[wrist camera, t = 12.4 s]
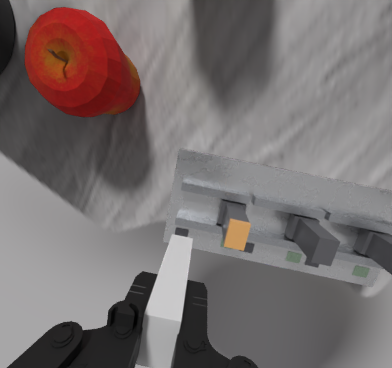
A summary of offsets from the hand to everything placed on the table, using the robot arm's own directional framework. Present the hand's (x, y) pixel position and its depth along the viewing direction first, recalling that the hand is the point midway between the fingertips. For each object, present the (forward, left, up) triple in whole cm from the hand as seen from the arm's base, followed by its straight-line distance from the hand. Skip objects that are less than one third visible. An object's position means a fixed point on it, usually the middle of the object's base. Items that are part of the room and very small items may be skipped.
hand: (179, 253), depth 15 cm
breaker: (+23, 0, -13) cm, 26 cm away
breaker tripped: (+5, 0, -13) cm, 14 cm away
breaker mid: (+14, -1, -13) cm, 19 cm away
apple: (-13, +12, -15) cm, 23 cm away
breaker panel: (+11, -1, -15) cm, 19 cm away
